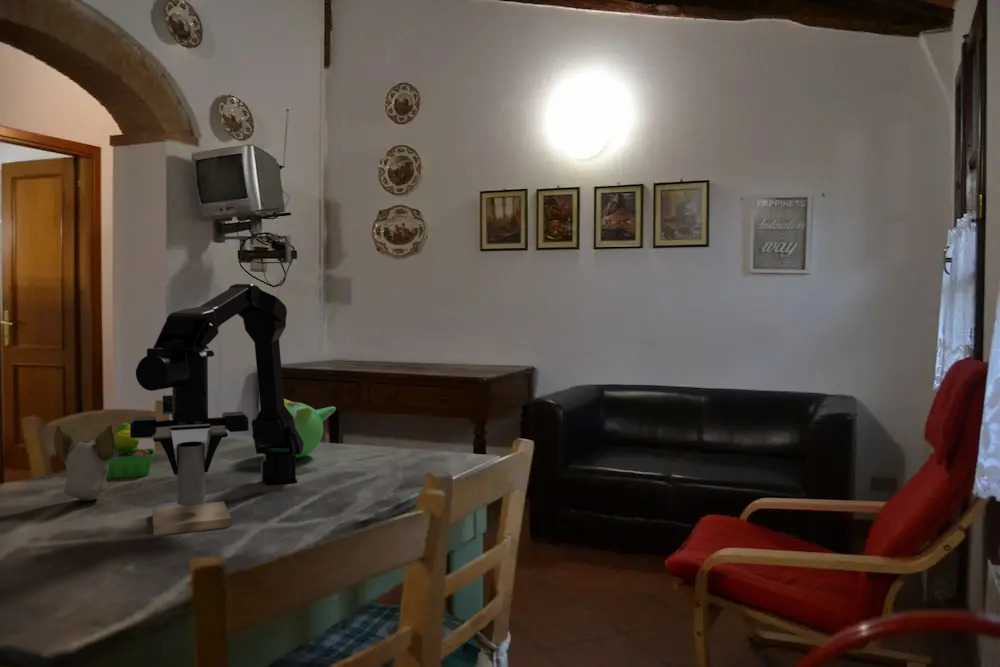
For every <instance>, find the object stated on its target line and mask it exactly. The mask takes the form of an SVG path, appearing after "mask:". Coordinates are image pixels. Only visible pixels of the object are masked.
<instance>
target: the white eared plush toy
mask: <svg viewBox="0 0 1000 667" xmlns="http://www.w3.org/2000/svg"><path fill="white" fill-rule="evenodd" d="M53 438H54V439H53V447H54V451H55V453H56V456H57V457H58V458H59V460H60V461H61V462H63V464H65V471H66V474H67V476H66V477H67V479H66V484H65V486H64V489H63V492H64V494H65V495H67V496H70V497H73V498H76V499H77V500H79V501H83V502H85V501H90V502H91V501H93V500H95V499H98V498H99V497H100V496H101V495H102V494H103V493H104V492H106V491H107V490H109V485H108V483H107V478H106V477H107V473H108V467H109V460H110V459H111V458H112V457H113V455H114V454H115V447H116V445H115V440H114V433H113V424H109V425H108V426H107V427H106V428H105V429H104V430H103V431H102V432H101V433H99V434H97V436H96V437H95V440H93V439H87V440H80V441H78V442H75V440H74V437H72V436H71V435H70V434H68V433H67V432H66V431H64V430H63V429H62V428H61V426H60V425H57V426H56V428H55V433H54V437H53Z"/></svg>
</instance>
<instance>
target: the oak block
mask: <svg viewBox="0 0 1000 667" xmlns="http://www.w3.org/2000/svg"><path fill="white" fill-rule="evenodd" d="M151 510H152V512H151V514H152V529H153V536H158V535H166V534H167V535H168V534H178V533H186V532H195V531H196V532H197V531H203V530H204V531H205V530H212V529H220V528H221V529H223V528H231V527H232V516H231V514H230V513H229V509H228V508H227V505H226V503H225V501H214V502H205V503H204V502H203V503H201V504H197V505H188V506H185V505H174V506H172V505H171V506H163V507H154V508H153V507H152V509H151Z"/></svg>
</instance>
